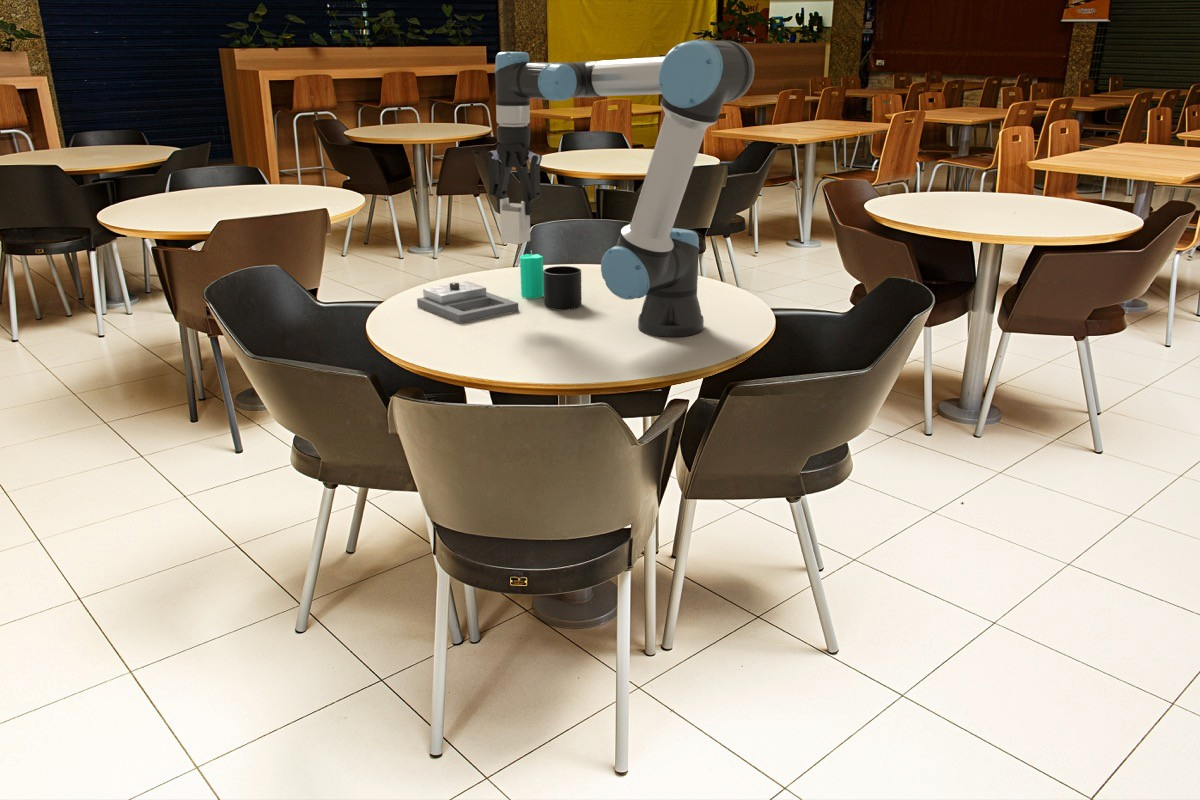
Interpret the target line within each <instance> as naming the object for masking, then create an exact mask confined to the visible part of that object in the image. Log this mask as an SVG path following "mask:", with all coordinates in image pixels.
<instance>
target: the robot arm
mask: <svg viewBox="0 0 1200 800" xmlns="http://www.w3.org/2000/svg"><path fill="white" fill-rule="evenodd" d="M494 74H495V75H494V77H495V96H496V97H495V98H496V101H495V103H496V104H495V110H496V112H495V113H496V123H497V124H498V125H497V127H496V141H497V147H496V150H491V151H487V152H486V157H487V161H488V186H489V187H488V190H489V191H488V193H489V195H490V196H494V197H496V202H497V203H496V205H497V207H496V208H497V209H496V210H497V212H498V213H500V210H502V206H503V205H506V204H510V198H509V197H507V196H508V194H507V191H508V186H509V180H510V175H511V172H512V170H513V168H514V169H515V170H516V173H517V175H518V180H519V183H520V188H521V192H522V198H523V199H522V200H521V201H520V204H521V220H522V230H526V229H529V228H530V229H531V217H530V216H531V215H532V216H533V212H534V204H533V203H534V200H536V199H539V198H540V197H541V166H540V165H541V162H542V160H543V157H542V154H540V153H539V154H537V153H534V152H532V149H531V146H530V142H531V127H530V126H529V125H528V124H530V123H531V119H530V118H531V111H530V110H531V106H530V104H531V101H530V100H531V99H537V100H547V101H551V102H558V101H559V102H560V101H567V100H569V99H573V98H594V97H595V98H597V97H612V96H613V97H614V96H615V97H616V96H617V97H618V96H640V95H641V96H643V95H645V96H647V95H662V97H661V101H660V107H661V108H662V110H663V112H664V117H663V121H662V122H661V126H660V130H659V133H658V136H657V139H656V142H655V146H654V148H653V152H652V155H651V158H650V162H649V164H648V169H647V172H646V174H645V178H644V180H643V184H642V188H641V190H640V194H639V196H638V200H637V204H636V206H635V209H634V212H633V216H632V219H631V222H630V223H629V224H626V225H624V226H623V227H621V230H620V232H619V233H620V234H619V236H618V239H617V243H616V245H615V246H612V247H611V248H609V249H608V250H607V251H605V253H604V255H603V256H602V258H601V263H600V273H601V276H602V279H603V281H604V282H605V285H606V288H607V289H608V290H609V291H610V292H611V293H612V294H614V295H615V296H616V297H618V298H620V299H622V300H634V299H641V298H644V297H645V298H644V301H643V304H642V308H641V313H640V314H639V316H638V319H637V322H638V325H637V327H638V330H639V331H641V332H642V333H645V334H646V335H647V334H648V335H650V336H651V335H652V336H657V337H665V338H666V337H669V338H674V337H675V338H678V337H679V338H680V337H681V338H682V337H688V336H694V335H697V334H699V333H701V332H702V331H703V330H704V321H705V320H704V316H703V314H702V311H701V306H700V303H699V299H698V280H699V278H698V277H699V259H700V258H699V255H700V253H699V252H700V246H699V245H700V244H699V240H700V239H699V235H698V233H697V232H696V231H693V230H690V229H684V228H675V227H674V224H675V221H676V219H677V216H678V212H679V210H680V206H681V204H682V200H683V198H684V195H685V193H686V190H687V187H688V183H689V180H690V177H691V175H692V172H693V170H694V166H695V164H696V161H697V157H698V155H699V151H700V149H701V147H702V146H701V145H702V143H703V140H704V137H705V133H706V131H707V129H708V127H711V126H713V125H715V124H716V123H717V122H718V120H719V116H720V114H721V111H722V108H723V106H724V104H726V103H732V102H734V101H737V100H739V99H740V98H742V97H743V96H744V95H745V94H746V93H747V92H748V91H749V89H750V88H751V86H752V84H753V81H754V77H755V63H754V60H753V57H752V55H751V53H750V52H749V51H748V49H746V47H745V46H743V45H742V44H740V43H739V42H735V41H732V40H704V39H693V40H689V41H685V42H682V43H679V44H676V46H674V47H672V48H671V49H670V50H669V51H668V52H667V54H665V55H663V56H649V57H648V56H647V57H638V58H622V59H621V58H620V59H610V60H609V59H606V60H593V61H592V60H590V61H579V62H578V61H577V62H575V61H574V62H571V61H570V62H531V60H530V55H529V53H528V52H525V51H500V52H498V53H497V54H496V56H495V68H494ZM499 158H500V160H501V163H500V162H499V161H500V160H499ZM528 162H529V163H530V164H529V166H528ZM528 170H529V171H528ZM499 223H500V225H501V219H500V222H499Z"/></svg>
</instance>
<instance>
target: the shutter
mask: <svg viewBox="0 0 1200 800" xmlns="http://www.w3.org/2000/svg"><path fill="white" fill-rule="evenodd" d="M486 292H487V287H485V286H484V285H483V286H482V285H480V284H477V283H474V282H470V281H467V280H466V281H461V282H451V283H449V284H443V285H439V286H433V287H426V288H423V289H422V293H423V297H425V298H428V299H430V300H433V301H436V302H438V303H441V304H444V303H450V302H455V301H460V300H465V299H470V298H475V297H480V296H485V295H486Z"/></svg>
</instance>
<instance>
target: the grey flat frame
mask: <svg viewBox="0 0 1200 800" xmlns="http://www.w3.org/2000/svg"><path fill="white" fill-rule="evenodd" d="M416 304H417V305H416V306H417V307H418V308H420V309H423V310H426V311H428V312H430V313H433V314H436V315H438V316H440V317H443V318H445V319H448V320H449V321H453V322H455V323H457V324H462V323H467V322H468V323H469V322H473V321H477V320H478V321H479V320H482V319H486V318H491V317H492V318H493V317H496V316H501V315H506V314H511V313H516V312H519V308H520V307H519V302H516V301H513V300H510V299H508V298H506V297H502V296H500V295H498V294H497V295H496V294H493V293H490V292H487V291H486V295H485V296H480V297H475V298H470V299H465V300H460V301H455V302H450V303H444V304H441V303H438V302H436V301H433V300H430V299H428V298H425V297H424V296H423V297H419V298H416ZM515 311H516V312H515ZM510 312H511V313H510Z"/></svg>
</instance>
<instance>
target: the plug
mask: <svg viewBox="0 0 1200 800" xmlns="http://www.w3.org/2000/svg"><path fill="white" fill-rule="evenodd" d="M499 213H500V214H499V218H500V219H501V224H500V243H504V244H505V243H506V244H511V245H512V244H513V245H522V244H525V243H528V242H530V241H531V227H530V228H529V229H526V230H522V220H521V203H516V202H515V203H514V202H509V204H506V205H503V206H502V210H500V212H499Z"/></svg>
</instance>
